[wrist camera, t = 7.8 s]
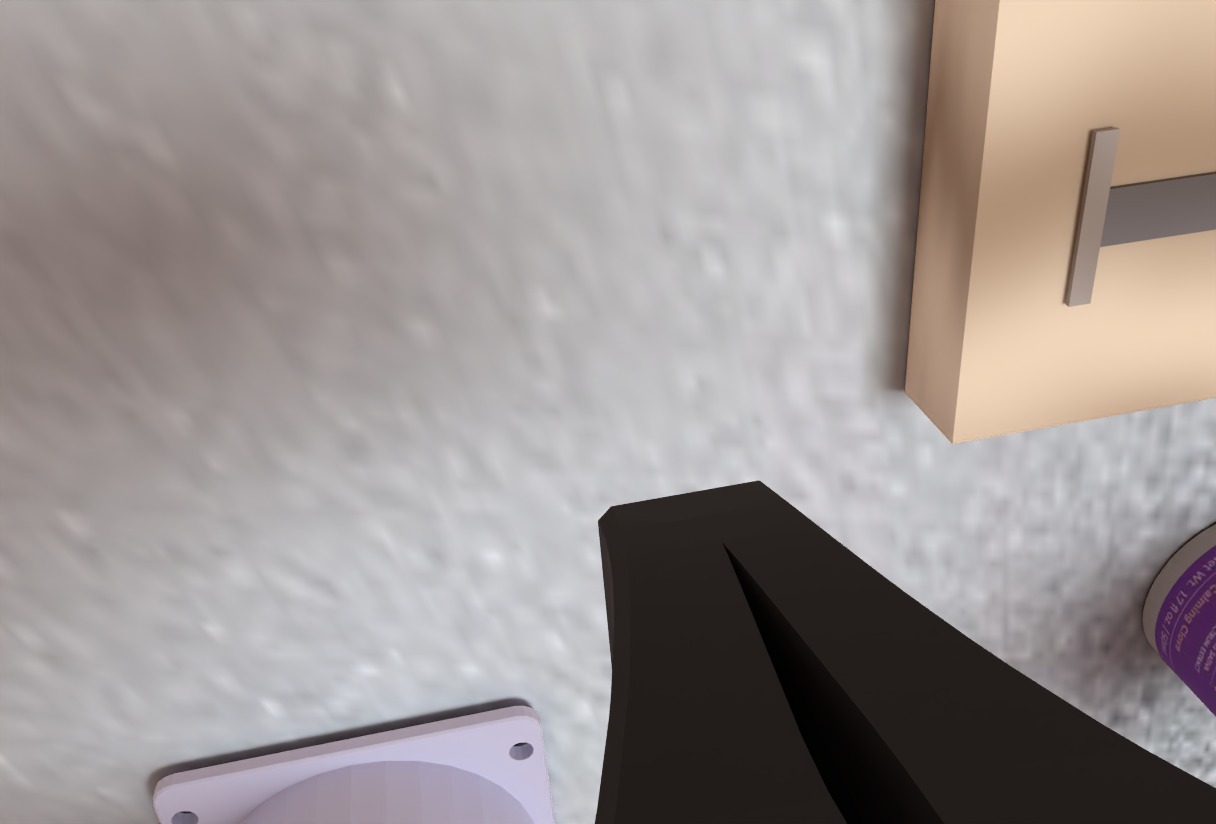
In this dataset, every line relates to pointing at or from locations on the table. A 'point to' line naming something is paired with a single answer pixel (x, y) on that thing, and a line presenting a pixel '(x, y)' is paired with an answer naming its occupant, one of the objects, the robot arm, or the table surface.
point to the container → (1187, 615)
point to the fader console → (1065, 214)
